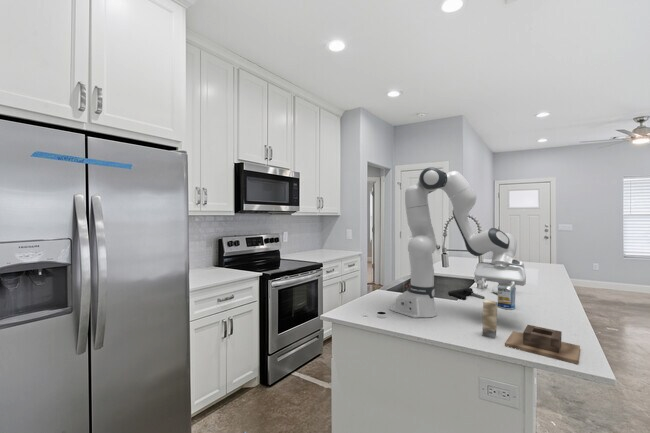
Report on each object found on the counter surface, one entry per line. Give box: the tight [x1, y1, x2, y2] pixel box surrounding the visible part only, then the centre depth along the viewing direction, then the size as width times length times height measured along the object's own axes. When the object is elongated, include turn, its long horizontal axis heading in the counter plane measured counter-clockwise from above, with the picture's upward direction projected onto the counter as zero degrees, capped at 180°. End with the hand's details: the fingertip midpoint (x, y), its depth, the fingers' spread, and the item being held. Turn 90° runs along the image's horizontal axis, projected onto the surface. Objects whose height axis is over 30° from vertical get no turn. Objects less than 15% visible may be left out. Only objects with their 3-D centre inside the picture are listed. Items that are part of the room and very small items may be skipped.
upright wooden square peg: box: [481, 299, 498, 339], centre depth 133 cm, size 4×4×14 cm
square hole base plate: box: [504, 324, 581, 365], centre depth 123 cm, size 22×16×6 cm
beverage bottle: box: [497, 283, 517, 311], centre depth 172 cm, size 8×8×20 cm
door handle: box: [447, 287, 486, 301], centre depth 193 cm, size 3×20×16 cm
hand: (496, 289), depth 141 cm, fingers open, 8 cm apart
